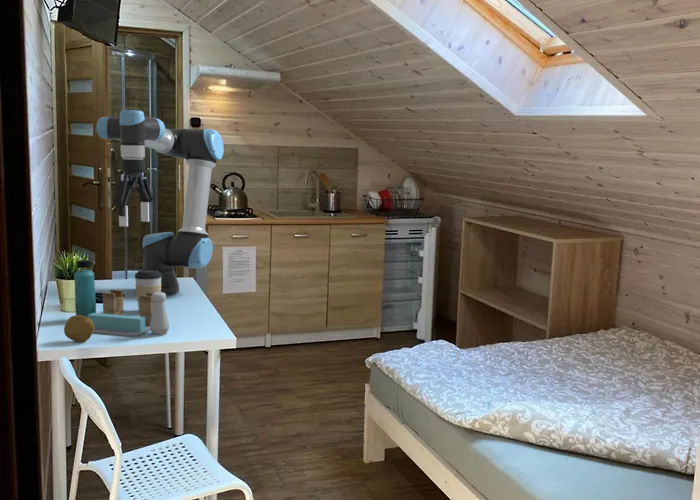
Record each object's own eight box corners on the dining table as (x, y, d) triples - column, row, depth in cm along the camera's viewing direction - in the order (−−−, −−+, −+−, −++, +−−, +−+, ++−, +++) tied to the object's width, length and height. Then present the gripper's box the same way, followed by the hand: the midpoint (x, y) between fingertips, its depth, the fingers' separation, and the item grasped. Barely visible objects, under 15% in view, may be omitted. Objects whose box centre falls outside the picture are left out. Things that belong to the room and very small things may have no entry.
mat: (97, 323, 228) (97, 322, 228) (153, 328, 223) (153, 327, 223) (78, 331, 218) (78, 330, 218) (137, 337, 214) (137, 335, 214)
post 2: (148, 322, 231) (147, 292, 229) (159, 323, 230) (158, 293, 229) (140, 326, 226) (139, 296, 224) (151, 327, 225) (150, 296, 223)
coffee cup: (155, 316, 239) (154, 272, 237) (130, 314, 241) (129, 271, 238) (167, 309, 248) (166, 268, 245) (143, 308, 250) (142, 266, 247)
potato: (63, 340, 209) (61, 314, 208) (89, 336, 213) (88, 311, 212) (68, 346, 203) (67, 319, 202) (96, 342, 208) (95, 316, 206)
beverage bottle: (101, 319, 233) (98, 260, 230) (84, 323, 227) (82, 262, 224) (87, 316, 236) (85, 257, 233) (71, 320, 231) (68, 260, 228)
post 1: (112, 319, 234) (111, 289, 232) (123, 320, 233) (122, 290, 231) (103, 323, 229) (102, 293, 227) (114, 324, 228) (113, 294, 226)
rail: (93, 324, 224) (93, 312, 223) (145, 329, 220) (145, 317, 220) (88, 327, 221) (87, 314, 221) (140, 332, 217) (140, 319, 217)
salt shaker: (146, 333, 218) (145, 292, 216) (162, 330, 222) (162, 289, 220) (155, 337, 214) (155, 295, 212) (172, 334, 218) (171, 293, 216)
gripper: (142, 157, 241) (143, 219, 244) (100, 159, 217) (103, 227, 220) (162, 158, 239) (163, 220, 243) (122, 160, 215) (124, 228, 219)
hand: (134, 223), depth 232 cm, fingers open, 13 cm apart
